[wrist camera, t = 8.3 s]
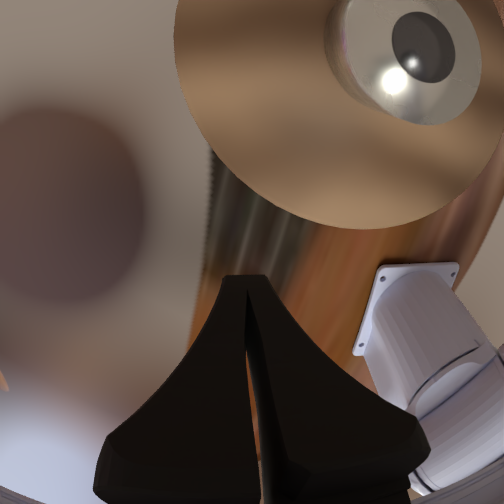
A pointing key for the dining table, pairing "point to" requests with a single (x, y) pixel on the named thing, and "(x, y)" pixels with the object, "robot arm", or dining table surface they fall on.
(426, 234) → the dining table surface
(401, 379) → the robot arm
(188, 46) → the turntable
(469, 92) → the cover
